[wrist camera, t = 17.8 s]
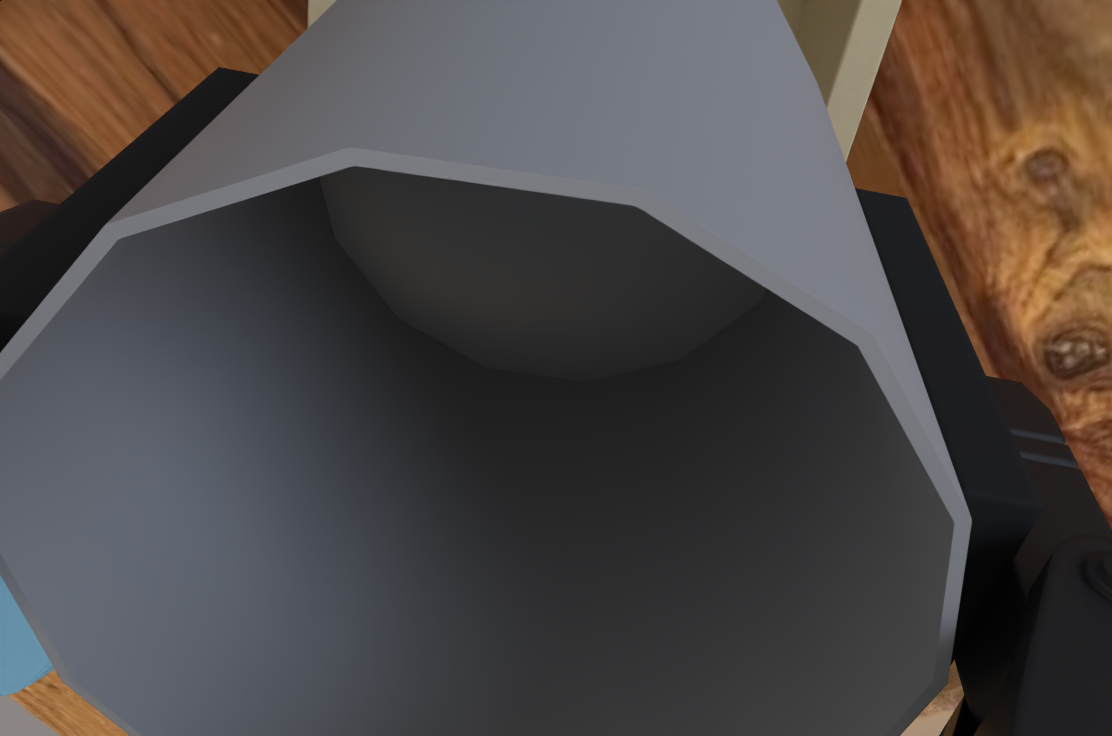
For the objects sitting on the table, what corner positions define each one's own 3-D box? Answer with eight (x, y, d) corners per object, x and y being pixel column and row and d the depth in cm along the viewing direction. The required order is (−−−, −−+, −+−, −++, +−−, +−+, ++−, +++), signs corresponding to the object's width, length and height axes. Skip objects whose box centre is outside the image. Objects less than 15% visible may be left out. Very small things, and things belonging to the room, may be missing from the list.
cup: (897, 245, 17) (1101, 763, 9) (500, 427, 20) (384, 939, 12) (655, -245, 14) (630, -122, 5) (214, 65, 17) (-232, 447, 8)
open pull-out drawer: (734, 396, 33) (747, 546, 27) (336, 321, 33) (266, 456, 27) (996, -407, 21) (1115, -437, 15) (373, -530, 21) (261, -606, 15)
